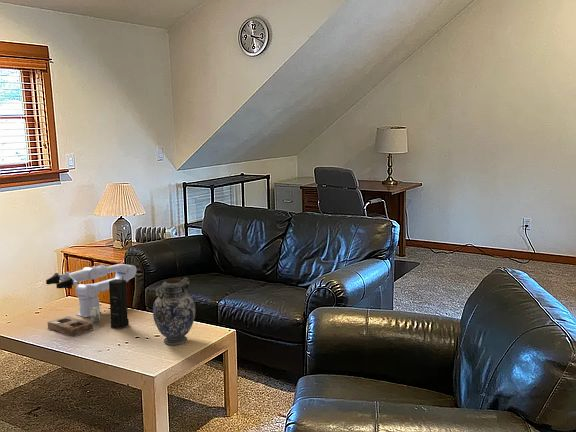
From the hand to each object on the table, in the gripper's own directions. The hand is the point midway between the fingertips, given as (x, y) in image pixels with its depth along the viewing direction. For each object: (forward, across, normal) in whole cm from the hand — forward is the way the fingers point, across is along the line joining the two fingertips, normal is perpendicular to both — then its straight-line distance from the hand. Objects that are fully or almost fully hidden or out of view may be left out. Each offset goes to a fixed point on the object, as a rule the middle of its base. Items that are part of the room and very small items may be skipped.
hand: (51, 284), depth 275 cm
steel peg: (-12, +17, +19) cm, 28 cm away
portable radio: (-14, +31, +17) cm, 38 cm away
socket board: (0, +13, +19) cm, 23 cm away
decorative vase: (-12, +69, +12) cm, 71 cm away
